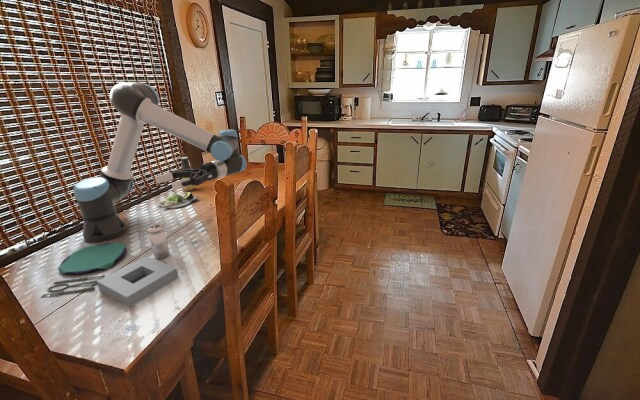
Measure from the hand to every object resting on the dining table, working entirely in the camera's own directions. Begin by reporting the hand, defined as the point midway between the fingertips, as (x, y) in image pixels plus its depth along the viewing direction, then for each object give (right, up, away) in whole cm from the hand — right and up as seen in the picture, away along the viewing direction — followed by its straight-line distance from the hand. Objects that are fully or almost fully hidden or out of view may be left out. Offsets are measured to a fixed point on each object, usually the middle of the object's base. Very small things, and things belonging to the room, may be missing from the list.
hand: (163, 183), depth 114 cm
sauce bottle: (-19, -1, +66) cm, 69 cm away
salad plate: (-17, -8, +48) cm, 52 cm away
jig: (+2, -33, -18) cm, 38 cm away
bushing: (+1, -27, -3) cm, 27 cm away
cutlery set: (-22, -31, -9) cm, 39 cm away
